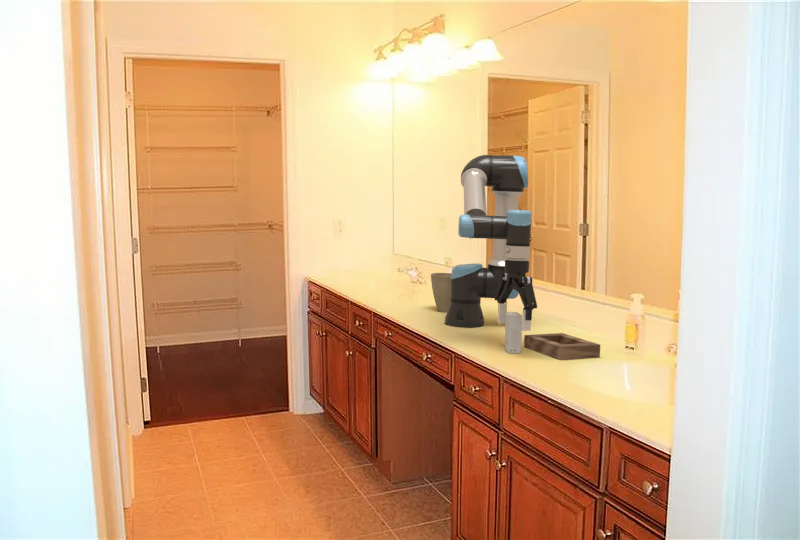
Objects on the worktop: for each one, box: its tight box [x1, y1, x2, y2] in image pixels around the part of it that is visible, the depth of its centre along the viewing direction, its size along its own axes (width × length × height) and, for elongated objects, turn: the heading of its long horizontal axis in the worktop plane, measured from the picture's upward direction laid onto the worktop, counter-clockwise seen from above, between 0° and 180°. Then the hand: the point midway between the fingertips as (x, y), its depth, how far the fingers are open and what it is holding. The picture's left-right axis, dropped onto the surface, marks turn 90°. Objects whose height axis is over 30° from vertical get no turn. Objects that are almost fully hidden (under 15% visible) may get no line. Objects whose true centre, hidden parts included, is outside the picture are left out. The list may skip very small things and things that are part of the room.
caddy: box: [523, 332, 601, 361], centre depth 210 cm, size 19×15×4 cm
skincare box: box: [504, 311, 523, 354], centre depth 208 cm, size 6×4×12 cm
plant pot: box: [430, 272, 452, 313], centre depth 285 cm, size 15×15×16 cm
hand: (513, 327), depth 208 cm, fingers open, 13 cm apart
